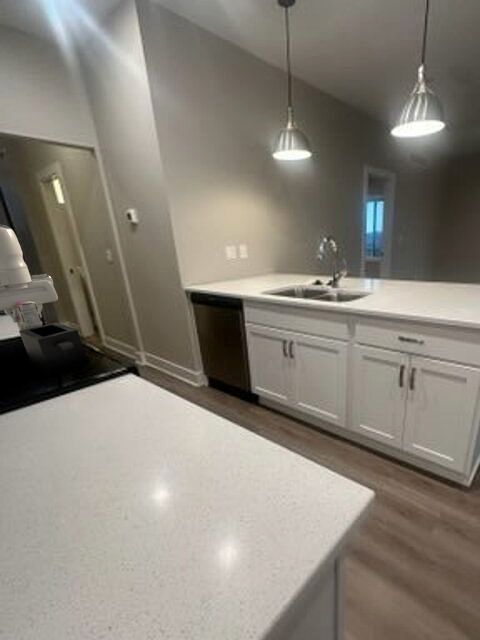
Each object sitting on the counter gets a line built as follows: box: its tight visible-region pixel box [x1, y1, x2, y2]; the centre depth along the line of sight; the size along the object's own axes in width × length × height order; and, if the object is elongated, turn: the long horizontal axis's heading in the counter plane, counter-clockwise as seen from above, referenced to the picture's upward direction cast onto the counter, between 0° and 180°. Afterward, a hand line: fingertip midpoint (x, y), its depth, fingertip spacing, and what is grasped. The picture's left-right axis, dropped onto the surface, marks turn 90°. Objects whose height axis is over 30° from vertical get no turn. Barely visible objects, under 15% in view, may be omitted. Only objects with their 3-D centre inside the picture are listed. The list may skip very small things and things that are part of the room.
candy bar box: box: [11, 301, 44, 331], centre depth 115 cm, size 11×5×16 cm, turn 51°
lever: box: [56, 341, 74, 350], centre depth 100 cm, size 3×4×1 cm
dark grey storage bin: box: [18, 322, 89, 376], centre depth 108 cm, size 10×17×11 cm, turn 52°
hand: (27, 319), depth 114 cm, fingers closed on candy bar box, 5 cm apart
